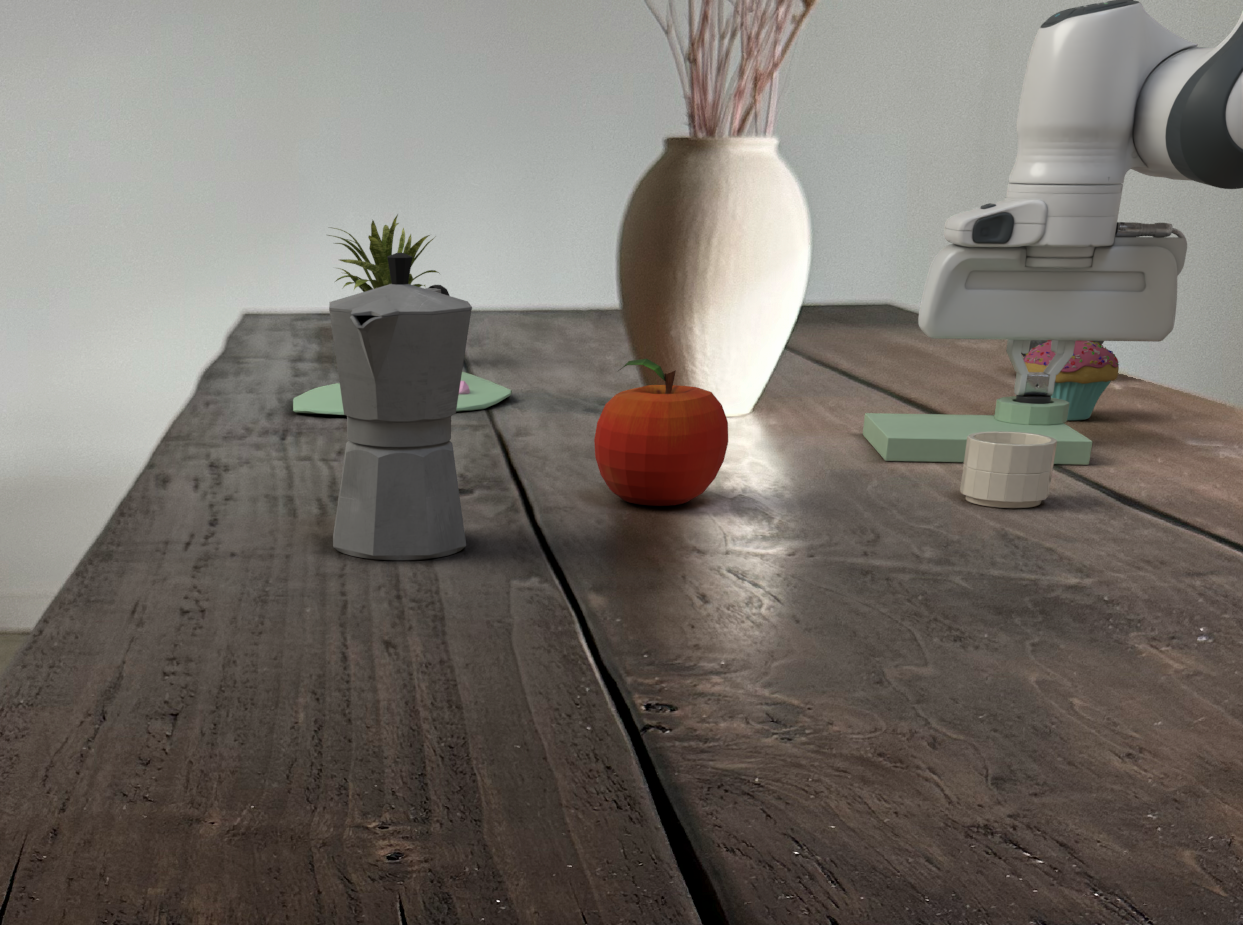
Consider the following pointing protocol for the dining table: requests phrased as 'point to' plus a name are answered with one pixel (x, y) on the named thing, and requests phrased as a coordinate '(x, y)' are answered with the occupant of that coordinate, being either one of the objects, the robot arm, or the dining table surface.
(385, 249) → the house plant
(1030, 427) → the scale
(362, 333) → the coffeepot
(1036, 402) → the button
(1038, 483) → the bowl
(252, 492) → the dining table surface
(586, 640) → the dining table surface
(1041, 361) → the cupcake
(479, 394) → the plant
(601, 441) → the fruit
